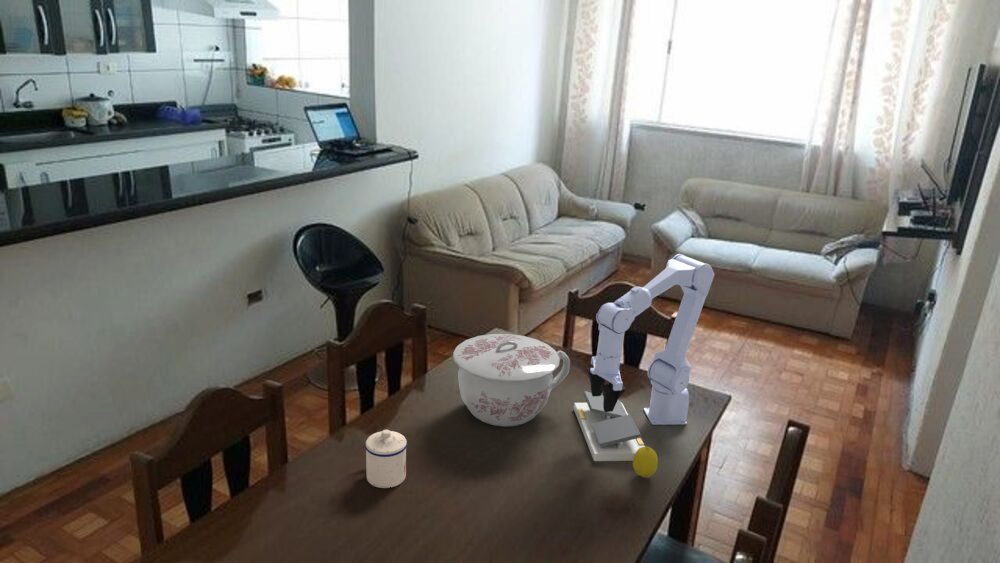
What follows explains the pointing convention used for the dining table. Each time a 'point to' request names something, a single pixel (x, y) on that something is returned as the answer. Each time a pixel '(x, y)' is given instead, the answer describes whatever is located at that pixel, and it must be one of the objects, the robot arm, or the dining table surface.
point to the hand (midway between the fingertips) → (602, 403)
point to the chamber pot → (507, 377)
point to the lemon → (645, 461)
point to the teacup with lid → (386, 459)
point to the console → (597, 452)
